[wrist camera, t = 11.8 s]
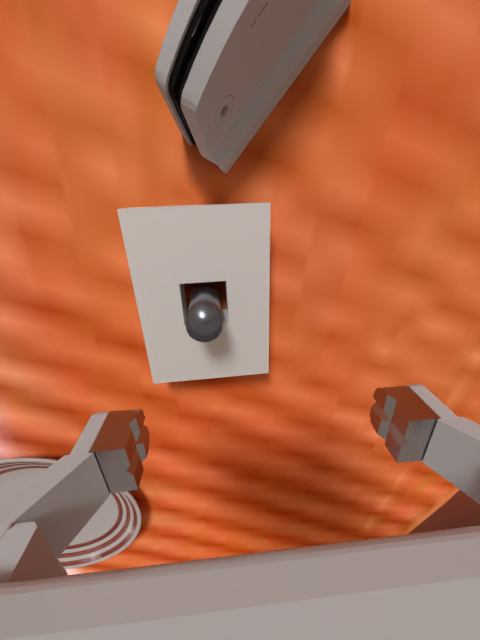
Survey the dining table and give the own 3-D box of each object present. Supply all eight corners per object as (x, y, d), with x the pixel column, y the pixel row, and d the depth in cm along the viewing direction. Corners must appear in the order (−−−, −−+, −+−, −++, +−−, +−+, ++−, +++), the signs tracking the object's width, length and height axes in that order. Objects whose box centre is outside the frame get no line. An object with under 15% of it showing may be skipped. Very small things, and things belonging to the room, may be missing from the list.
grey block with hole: (262, 202, 27) (270, 202, 23) (262, 354, 35) (268, 373, 31) (129, 207, 26) (117, 209, 22) (159, 363, 34) (153, 383, 30)
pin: (217, 278, 30) (221, 308, 22) (219, 303, 31) (223, 340, 23) (190, 279, 30) (183, 310, 21) (193, 305, 31) (187, 343, 23)
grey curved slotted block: (223, 177, 26) (187, 126, 16) (186, 144, 26) (127, 73, 16) (353, -1, 22) (410, -217, 12) (309, -41, 22) (331, -291, 12)
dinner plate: (157, 539, 49) (153, 562, 46) (-3, 561, 47) (-18, 586, 44) (126, 428, 38) (119, 448, 35) (-88, 449, 35) (-116, 473, 32)
